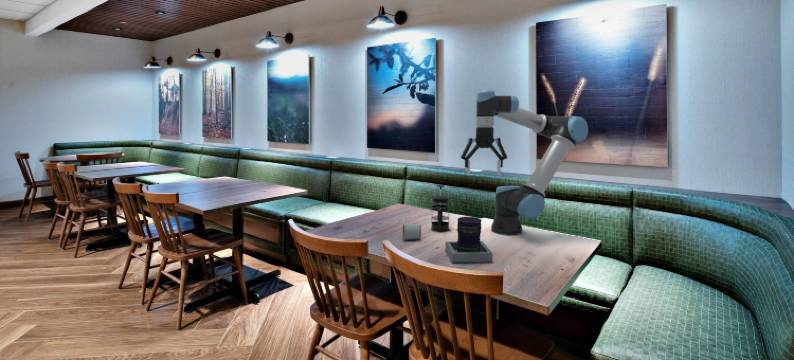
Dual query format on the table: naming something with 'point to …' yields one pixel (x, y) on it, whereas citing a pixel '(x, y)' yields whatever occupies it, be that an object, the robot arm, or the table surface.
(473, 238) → the storage jar
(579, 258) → the table surface
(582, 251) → the table surface
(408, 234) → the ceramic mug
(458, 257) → the tray
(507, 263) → the table surface
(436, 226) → the french press
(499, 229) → the robot arm
